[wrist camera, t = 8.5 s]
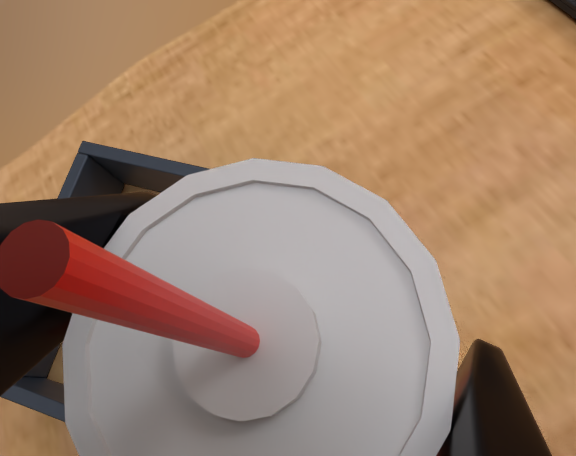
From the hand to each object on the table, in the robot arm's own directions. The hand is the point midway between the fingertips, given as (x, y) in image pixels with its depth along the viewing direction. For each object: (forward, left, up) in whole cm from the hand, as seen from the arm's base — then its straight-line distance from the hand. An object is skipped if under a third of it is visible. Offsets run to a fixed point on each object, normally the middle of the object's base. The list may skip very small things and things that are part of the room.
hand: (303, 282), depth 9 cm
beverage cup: (-1, 0, -8) cm, 8 cm away
